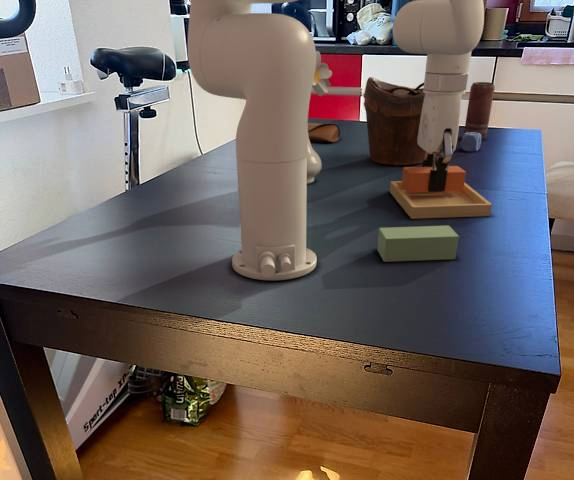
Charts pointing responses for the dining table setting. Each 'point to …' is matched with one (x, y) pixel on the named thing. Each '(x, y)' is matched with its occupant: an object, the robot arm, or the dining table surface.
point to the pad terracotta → (419, 179)
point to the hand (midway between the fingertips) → (432, 186)
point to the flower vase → (312, 157)
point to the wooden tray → (441, 203)
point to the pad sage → (417, 243)
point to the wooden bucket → (393, 122)
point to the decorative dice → (471, 141)
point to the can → (479, 108)
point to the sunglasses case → (323, 132)
